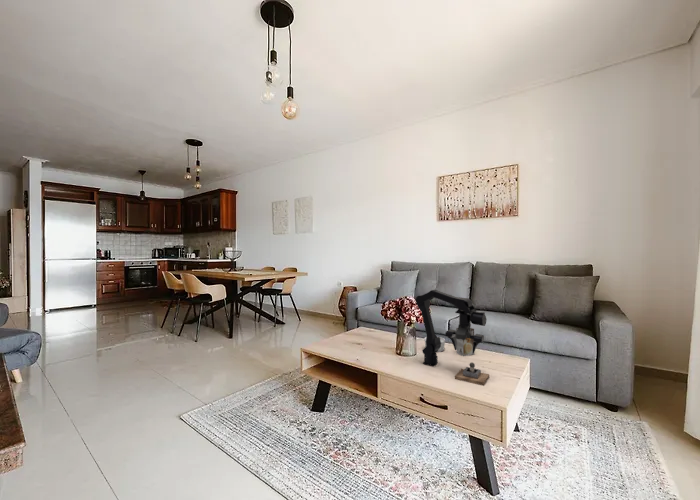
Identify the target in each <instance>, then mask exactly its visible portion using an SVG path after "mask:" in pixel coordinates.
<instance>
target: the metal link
mask: <svg viewBox="0 0 700 500" xmlns="http://www.w3.org/2000/svg"><path fill="white" fill-rule="evenodd" d="M464 369H465V370H464V371H463V376H465V377H470V378H475V379H478V378H479V376H480V375H481V373H482V369H479V368H474V373H473V372H470V366H469V367H468V366H466V367H465V368H464Z"/></svg>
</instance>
